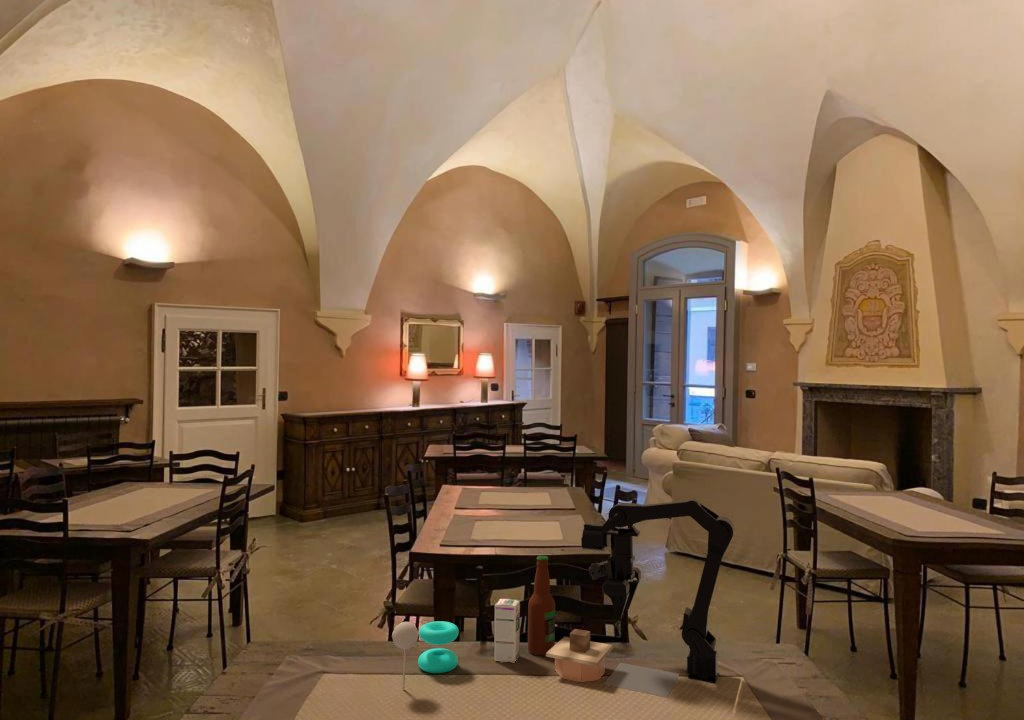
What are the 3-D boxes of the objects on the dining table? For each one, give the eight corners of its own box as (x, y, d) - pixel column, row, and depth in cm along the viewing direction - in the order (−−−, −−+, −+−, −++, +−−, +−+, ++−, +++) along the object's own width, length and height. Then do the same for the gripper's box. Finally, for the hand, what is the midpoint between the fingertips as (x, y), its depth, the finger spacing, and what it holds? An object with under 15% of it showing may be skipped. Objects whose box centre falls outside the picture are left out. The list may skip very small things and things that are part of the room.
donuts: (466, 624, 161) (441, 635, 152) (465, 665, 160) (439, 678, 152) (437, 617, 166) (410, 627, 158) (436, 656, 165) (409, 668, 157)
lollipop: (421, 686, 147) (423, 620, 148) (409, 697, 141) (411, 628, 143) (397, 682, 149) (400, 616, 150) (385, 692, 143) (387, 624, 145)
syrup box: (515, 664, 161) (516, 605, 163) (493, 661, 163) (494, 603, 164) (519, 655, 167) (520, 599, 168) (498, 653, 168) (499, 597, 169)
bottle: (555, 657, 167) (556, 560, 169) (527, 656, 167) (529, 559, 169) (553, 646, 174) (555, 554, 176) (527, 646, 174) (529, 553, 176)
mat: (679, 675, 156) (679, 673, 156) (667, 699, 143) (667, 697, 143) (620, 664, 163) (620, 662, 163) (603, 686, 149) (603, 684, 149)
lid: (612, 648, 160) (612, 628, 160) (597, 666, 148) (597, 645, 149) (564, 639, 165) (564, 620, 166) (545, 656, 154) (546, 636, 154)
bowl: (608, 669, 159) (608, 648, 160) (594, 686, 149) (594, 664, 149) (565, 661, 164) (566, 641, 164) (549, 677, 154) (550, 655, 154)
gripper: (601, 543, 177) (601, 601, 176) (581, 556, 160) (582, 620, 158) (640, 546, 173) (641, 605, 171) (625, 560, 156) (626, 626, 154)
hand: (622, 613), depth 164 cm, fingers open, 9 cm apart
